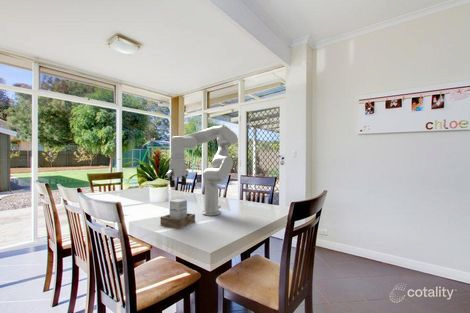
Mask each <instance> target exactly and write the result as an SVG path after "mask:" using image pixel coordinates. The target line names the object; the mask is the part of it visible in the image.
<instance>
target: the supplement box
mask: <svg viewBox="0 0 470 313" xmlns="http://www.w3.org/2000/svg"><path fill="white" fill-rule="evenodd" d="M187 213H188V200H187V199H180V198H177V199H172V200H169V214H170V218H172V219H178V220H179V219H182V218H185V217H187Z"/></svg>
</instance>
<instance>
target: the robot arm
mask: <svg viewBox="0 0 470 313" xmlns="http://www.w3.org/2000/svg"><path fill="white" fill-rule="evenodd" d="M238 138H239V137H238V135H237V133H235V131H233V130H231V129H230V128H229V127H228V126H225V125H223V124H221V125H214V126H210V127H208V128H205V129H202V130H199V131H195V132H192V133H190V134H186V135H183V136H180V135H176V136H175V135H174V136H172V137H171V139H170V140H171V144H170V145H171V159H170V162H169V168H168V172H166V176H167V178H168V180H169V187H170V188H175V187H176V181H175V178H177V177H181V182H180V183H181V184H180V185H181V186H186V185H187V178H188V176H189V170H188V169H187V164H186V159H185V158H186V156H185V155H186V154H185V152H186V150H193V149H195V148H196V147H197V146H198V145H199V144H206V143H208V142H210V141H213V140H215V139H216V143H217V148H218V150H217V151H216V154H215V155H214V157H213V159H212V160H211V166H212V167H209V168H208V167H207V168H205V169H204V171H203V173H202V177H203V183H204V210H203V211H202V212H201V213H202V215H203V216H211V217H212V216H218V215H220V214H221V210H219V209H221V208H222V206H221V205H219V186H218V183H224V182H225V181H226V180H227V179H228V177H229V174H230V172H231V170H232V168H233V166H234V160H233V158H232V157H231V156H229V154H230V151H229V149H228V146H233V145H236V144H237V143H238V140H239V139H238Z"/></svg>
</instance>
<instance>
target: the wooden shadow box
mask: <svg viewBox="0 0 470 313" xmlns="http://www.w3.org/2000/svg"><path fill="white" fill-rule="evenodd" d="M159 222H160V226H165V227H168V228H174V229H181V228H183V227H186V226H189V225H191V224H193V223H195V222H196V214H194V213H188V212H187V217H185V218H182V219H179V220H178V219H172V218H170V213H169V214H166V215H162V216H160V221H159Z"/></svg>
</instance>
